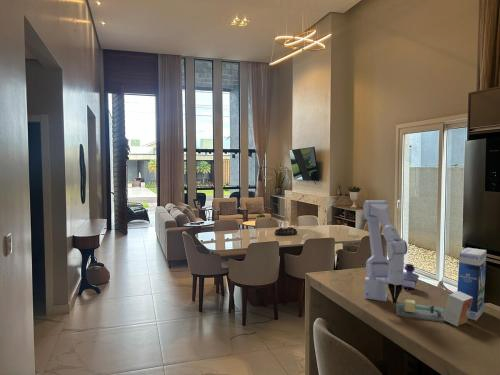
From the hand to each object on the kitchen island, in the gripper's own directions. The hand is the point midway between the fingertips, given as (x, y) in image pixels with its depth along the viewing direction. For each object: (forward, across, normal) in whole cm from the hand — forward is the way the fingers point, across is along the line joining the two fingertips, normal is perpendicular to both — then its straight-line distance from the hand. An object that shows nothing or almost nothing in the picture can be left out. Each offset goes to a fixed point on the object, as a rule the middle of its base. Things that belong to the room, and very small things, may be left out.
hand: (394, 302), depth 148 cm
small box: (+3, +22, -2) cm, 22 cm away
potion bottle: (+4, +7, +33) cm, 34 cm away
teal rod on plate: (+4, +9, 0) cm, 10 cm away
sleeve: (+2, +6, 0) cm, 6 cm away
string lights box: (+4, +29, +10) cm, 31 cm away
